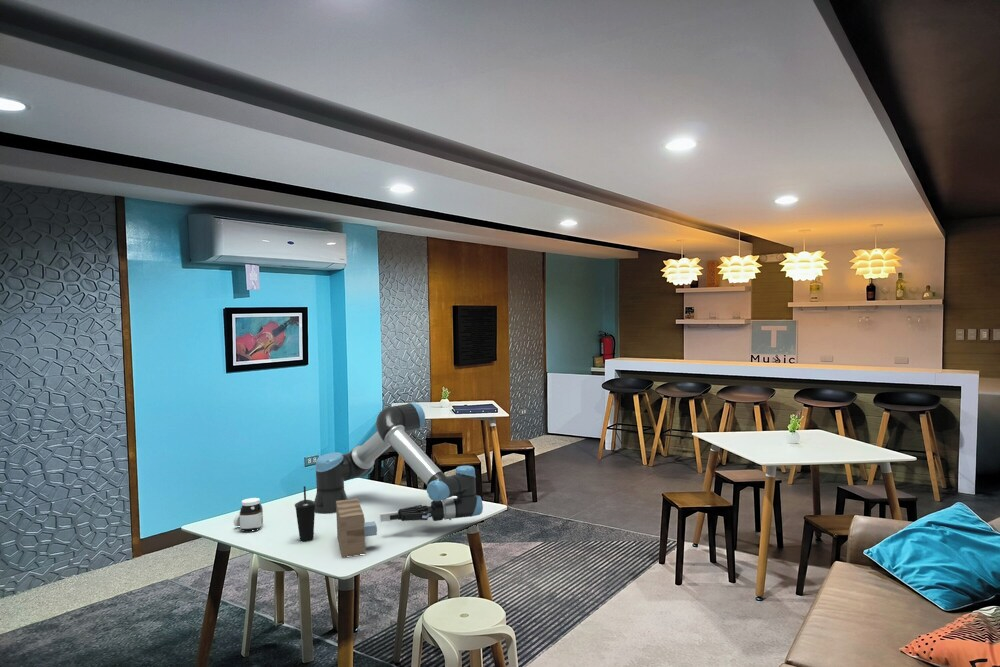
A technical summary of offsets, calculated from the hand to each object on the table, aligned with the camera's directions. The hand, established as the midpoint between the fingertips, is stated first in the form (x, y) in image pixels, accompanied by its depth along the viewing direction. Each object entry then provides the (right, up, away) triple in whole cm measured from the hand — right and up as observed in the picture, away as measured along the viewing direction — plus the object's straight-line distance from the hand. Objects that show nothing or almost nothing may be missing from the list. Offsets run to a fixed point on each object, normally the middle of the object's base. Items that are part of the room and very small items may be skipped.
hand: (380, 517), depth 239 cm
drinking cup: (-28, -9, 0) cm, 29 cm away
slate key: (-2, -2, -12) cm, 12 cm away
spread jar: (-56, -9, +16) cm, 59 cm away
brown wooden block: (-9, -8, -8) cm, 15 cm away
